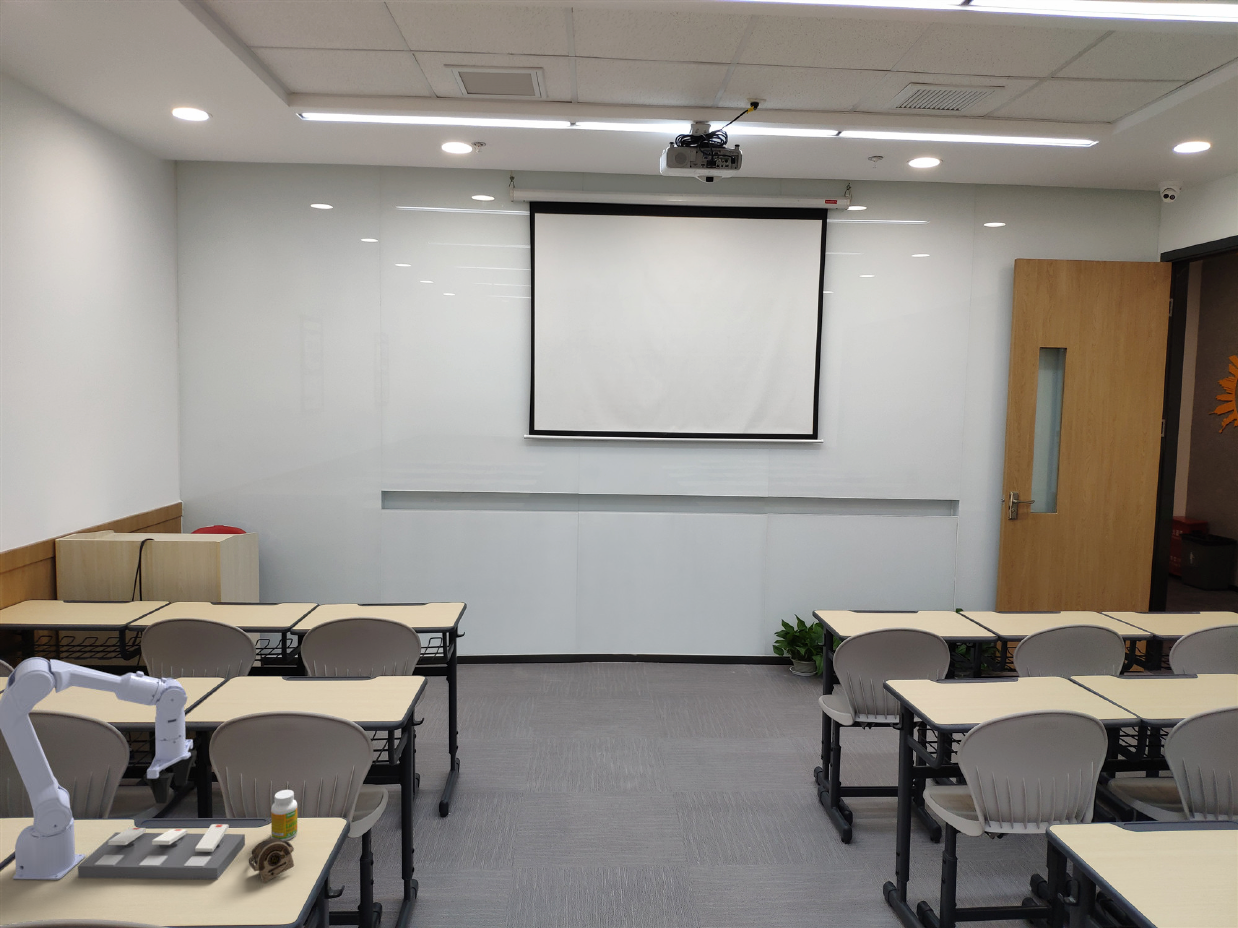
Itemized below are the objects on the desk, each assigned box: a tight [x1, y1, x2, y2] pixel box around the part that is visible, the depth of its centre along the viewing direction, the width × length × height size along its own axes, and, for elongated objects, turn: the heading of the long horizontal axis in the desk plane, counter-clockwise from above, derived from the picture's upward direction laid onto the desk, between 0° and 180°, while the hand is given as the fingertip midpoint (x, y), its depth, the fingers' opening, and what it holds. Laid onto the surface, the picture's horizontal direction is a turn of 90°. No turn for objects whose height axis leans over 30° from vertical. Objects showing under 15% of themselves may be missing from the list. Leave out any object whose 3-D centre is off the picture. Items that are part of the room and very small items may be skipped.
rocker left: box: [108, 827, 147, 845], centre depth 161 cm, size 4×7×1 cm, turn 1°
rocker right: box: [195, 823, 230, 852], centre depth 162 cm, size 4×7×1 cm, turn 2°
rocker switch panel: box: [77, 831, 246, 881], centre depth 160 cm, size 28×12×3 cm, turn 92°
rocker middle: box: [152, 828, 188, 845], centre depth 162 cm, size 4×7×1 cm, turn 1°
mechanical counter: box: [248, 837, 295, 884], centre depth 159 cm, size 7×13×10 cm
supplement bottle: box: [270, 789, 298, 841], centre depth 170 cm, size 5×5×10 cm
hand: (171, 793), depth 169 cm, fingers open, 7 cm apart
